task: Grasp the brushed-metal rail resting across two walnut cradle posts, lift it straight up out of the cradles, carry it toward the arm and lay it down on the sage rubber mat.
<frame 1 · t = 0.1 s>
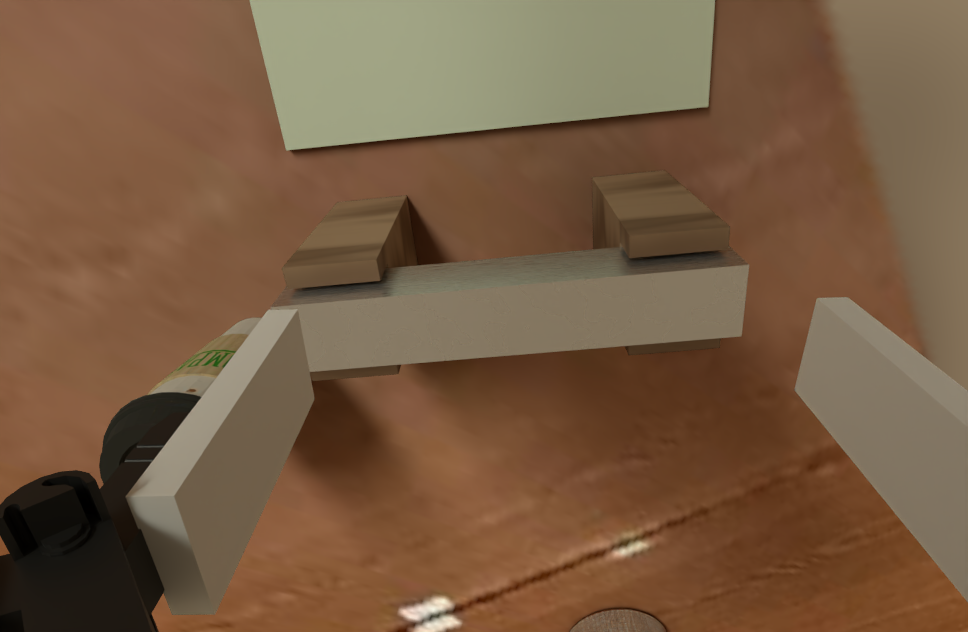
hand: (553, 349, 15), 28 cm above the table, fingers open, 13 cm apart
mat: (484, 37, 37), on the table
post 1: (380, 245, 44), on the table
rail: (506, 290, 34), point 10 cm above the table, touching post 2, post 1
post 2: (627, 222, 43), on the table
coffee cup: (264, 350, 48), on the table
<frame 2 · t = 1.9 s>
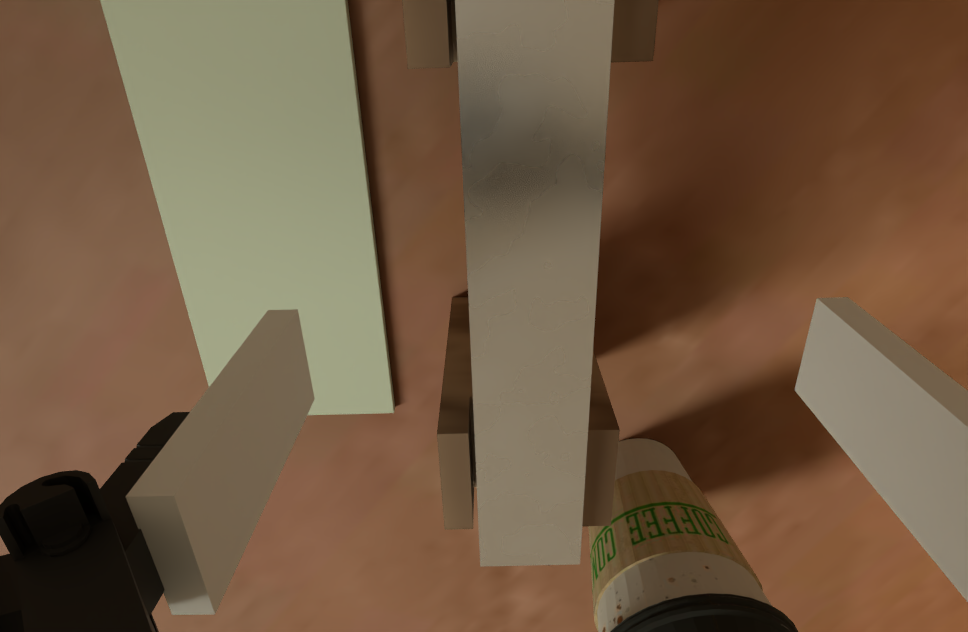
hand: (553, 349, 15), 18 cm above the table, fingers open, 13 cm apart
mat: (264, 190, 31), on the table
post 1: (513, 334, 35), on the table
rail: (524, 249, 22), point 10 cm above the table, touching post 2, post 1
coffee cup: (632, 472, 40), on the table
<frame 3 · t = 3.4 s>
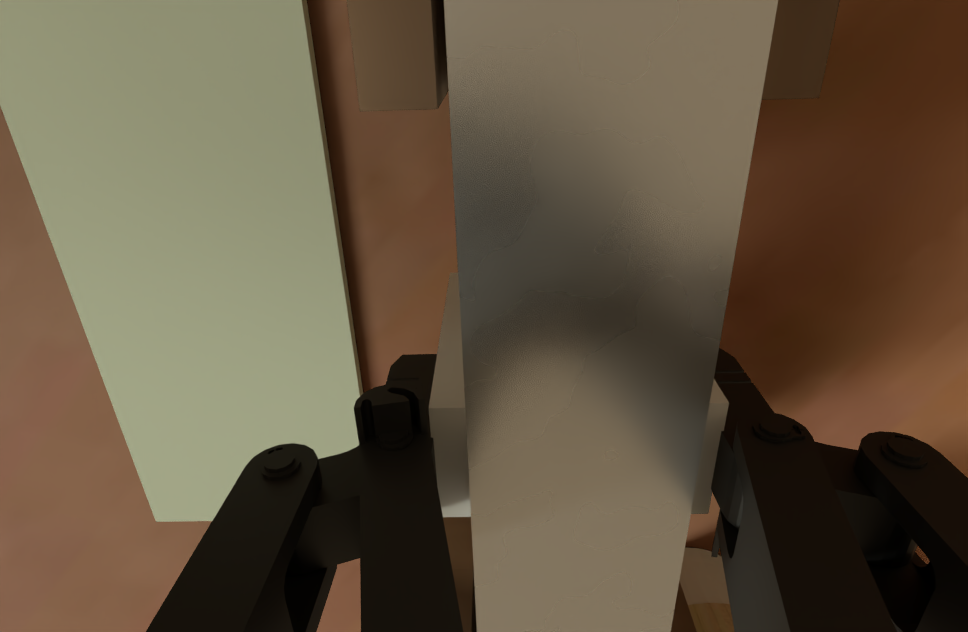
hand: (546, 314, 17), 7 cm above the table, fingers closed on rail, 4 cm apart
mat: (203, 246, 23), on the table
post 1: (531, 425, 27), on the table
rail: (558, 376, 14), point 10 cm above the table, touching gripper, post 2, post 1
coffee cup: (677, 585, 32), on the table
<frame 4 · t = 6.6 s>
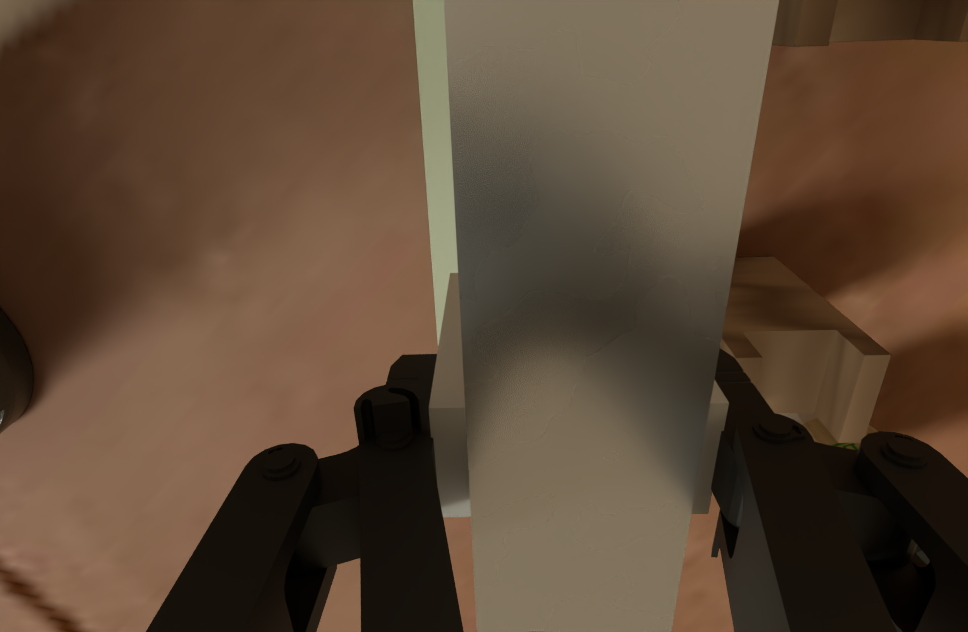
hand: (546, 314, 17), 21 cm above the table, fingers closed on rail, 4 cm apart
mat: (517, 161, 36), on the table
post 1: (713, 293, 39), on the table
rail: (558, 377, 14), point 24 cm above the table, touching gripper
coffee cup: (799, 423, 44), on the table
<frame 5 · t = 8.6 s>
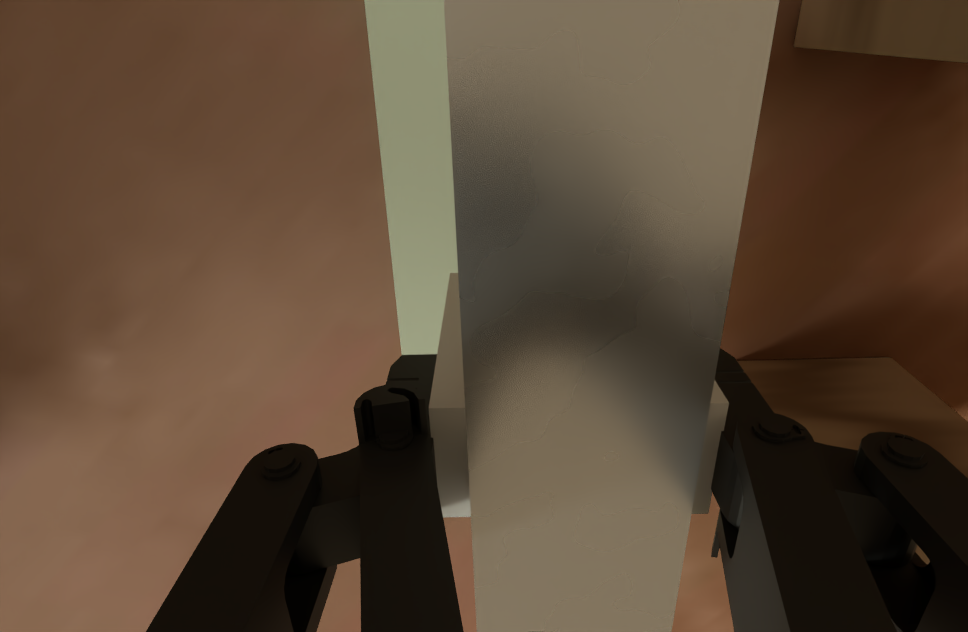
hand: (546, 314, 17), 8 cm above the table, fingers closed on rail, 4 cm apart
mat: (526, 229, 24), on the table
post 1: (801, 404, 28), on the table
rail: (558, 377, 14), point 11 cm above the table, touching gripper
when the fingers open (2 cm above the table, at t = 10.1 s): rail drops 5 cm, resting on mat.
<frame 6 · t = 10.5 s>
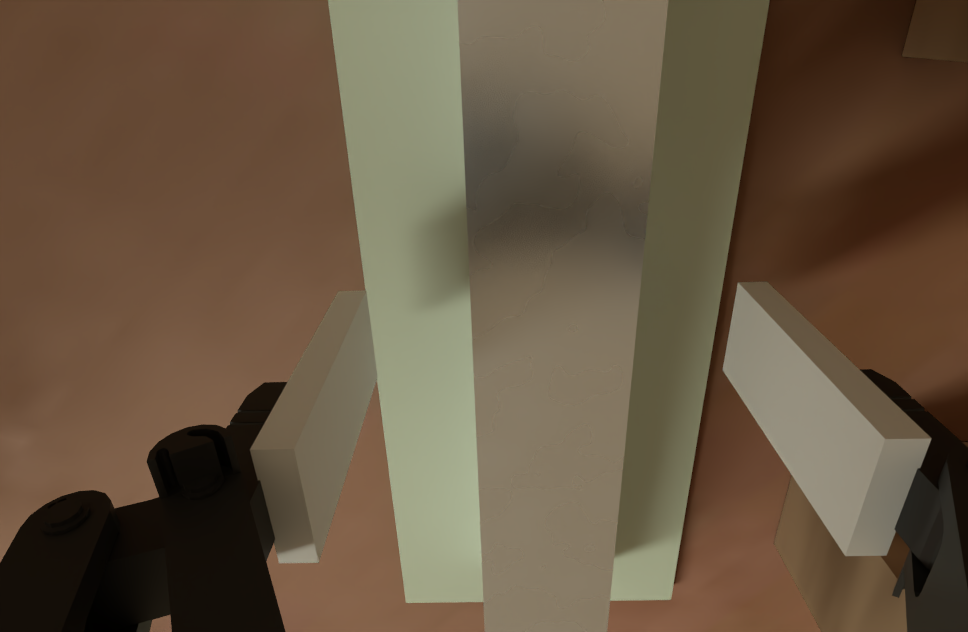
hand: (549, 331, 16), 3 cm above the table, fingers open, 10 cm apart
mat: (541, 287, 19), on the table
post 1: (878, 495, 23), on the table
rail: (540, 295, 18), point 1 cm above the table, touching mat
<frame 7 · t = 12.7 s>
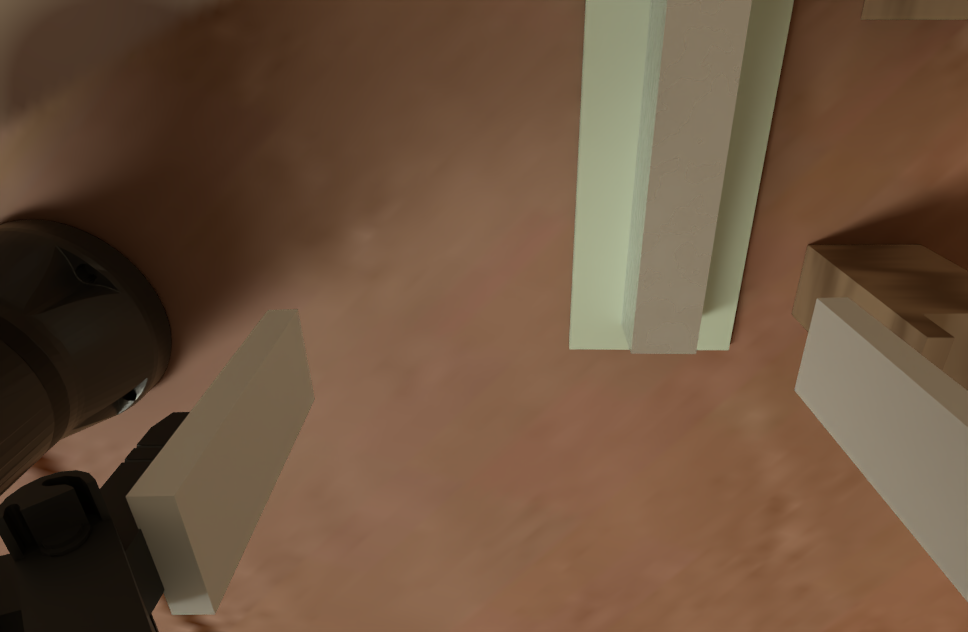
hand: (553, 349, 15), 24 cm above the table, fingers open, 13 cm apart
mat: (670, 143, 36), on the table
post 1: (853, 280, 39), on the table
rail: (671, 145, 35), point 1 cm above the table, touching mat
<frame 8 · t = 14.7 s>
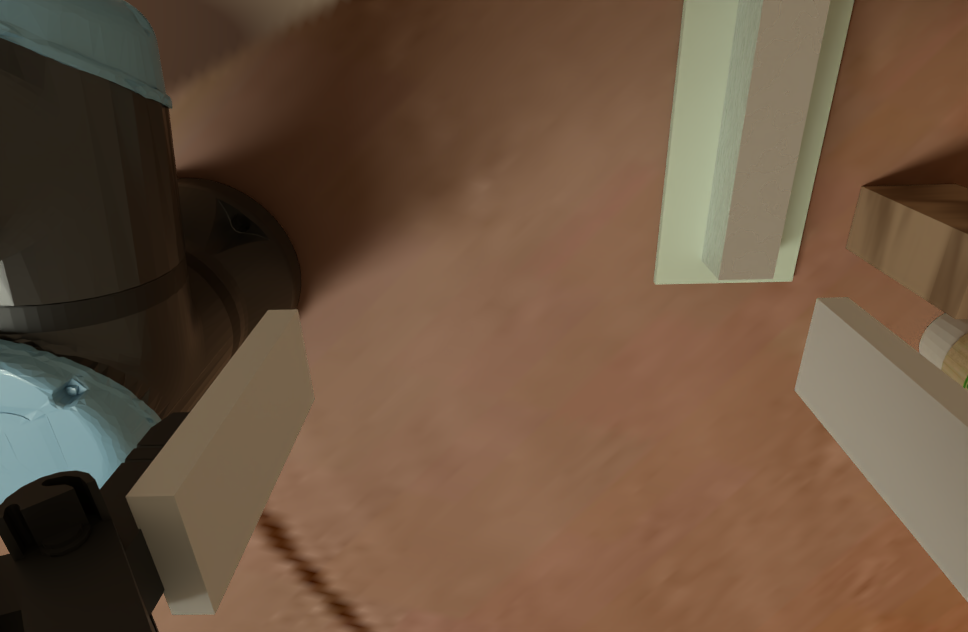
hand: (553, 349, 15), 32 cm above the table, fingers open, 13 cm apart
mat: (750, 99, 42), on the table
post 1: (899, 216, 46), on the table
rail: (752, 100, 42), point 1 cm above the table, touching mat
coffee cup: (955, 337, 51), on the table
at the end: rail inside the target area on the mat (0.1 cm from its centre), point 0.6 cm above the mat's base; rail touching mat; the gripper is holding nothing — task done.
